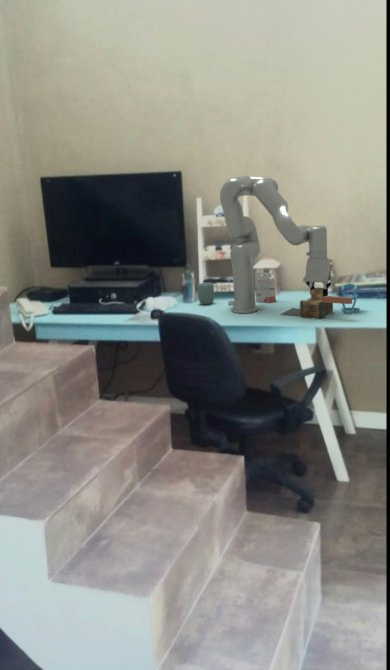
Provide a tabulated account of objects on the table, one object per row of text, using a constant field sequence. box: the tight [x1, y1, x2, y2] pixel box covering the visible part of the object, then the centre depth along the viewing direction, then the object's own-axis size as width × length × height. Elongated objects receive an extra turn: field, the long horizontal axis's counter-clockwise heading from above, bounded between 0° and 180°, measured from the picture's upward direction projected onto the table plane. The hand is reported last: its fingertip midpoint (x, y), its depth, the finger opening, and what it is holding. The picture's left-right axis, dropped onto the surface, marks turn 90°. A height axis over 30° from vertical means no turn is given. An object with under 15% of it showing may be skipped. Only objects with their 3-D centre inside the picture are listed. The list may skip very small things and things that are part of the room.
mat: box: [280, 307, 300, 317], centre depth 285 cm, size 10×12×1 cm
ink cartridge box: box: [254, 271, 277, 304], centre depth 310 cm, size 9×5×15 cm, turn 55°
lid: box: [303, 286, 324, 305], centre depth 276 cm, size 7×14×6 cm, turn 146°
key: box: [323, 295, 353, 305], centre depth 266 cm, size 12×2×2 cm, turn 56°
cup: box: [196, 282, 215, 306], centre depth 315 cm, size 8×8×10 cm
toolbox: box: [299, 299, 334, 320], centre depth 277 cm, size 10×14×7 cm
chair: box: [340, 283, 361, 315], centre depth 278 cm, size 8×8×12 cm
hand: (319, 296), depth 278 cm, fingers closed on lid, 4 cm apart
